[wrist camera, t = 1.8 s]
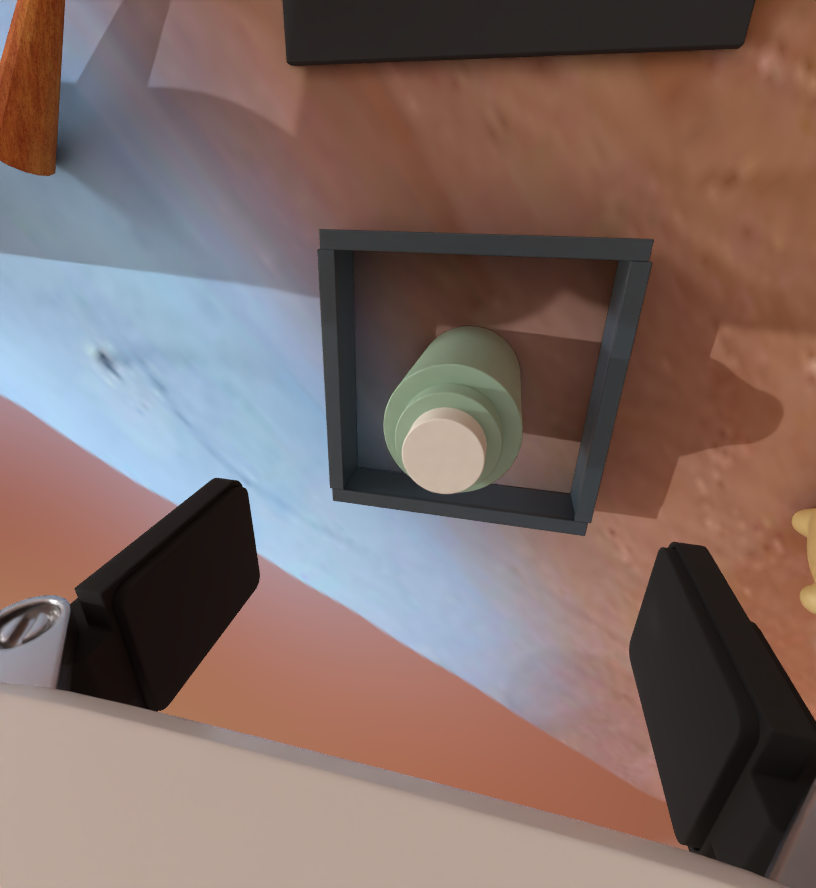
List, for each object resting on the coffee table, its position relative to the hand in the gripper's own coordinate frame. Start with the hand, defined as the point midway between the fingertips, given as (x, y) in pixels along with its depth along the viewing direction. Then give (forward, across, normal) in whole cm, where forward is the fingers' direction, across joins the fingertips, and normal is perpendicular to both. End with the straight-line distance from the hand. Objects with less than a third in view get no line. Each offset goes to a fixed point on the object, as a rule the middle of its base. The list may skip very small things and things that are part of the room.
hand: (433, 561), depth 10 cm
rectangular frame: (+18, +1, +1) cm, 18 cm away
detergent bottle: (+18, +1, +1) cm, 18 cm away
